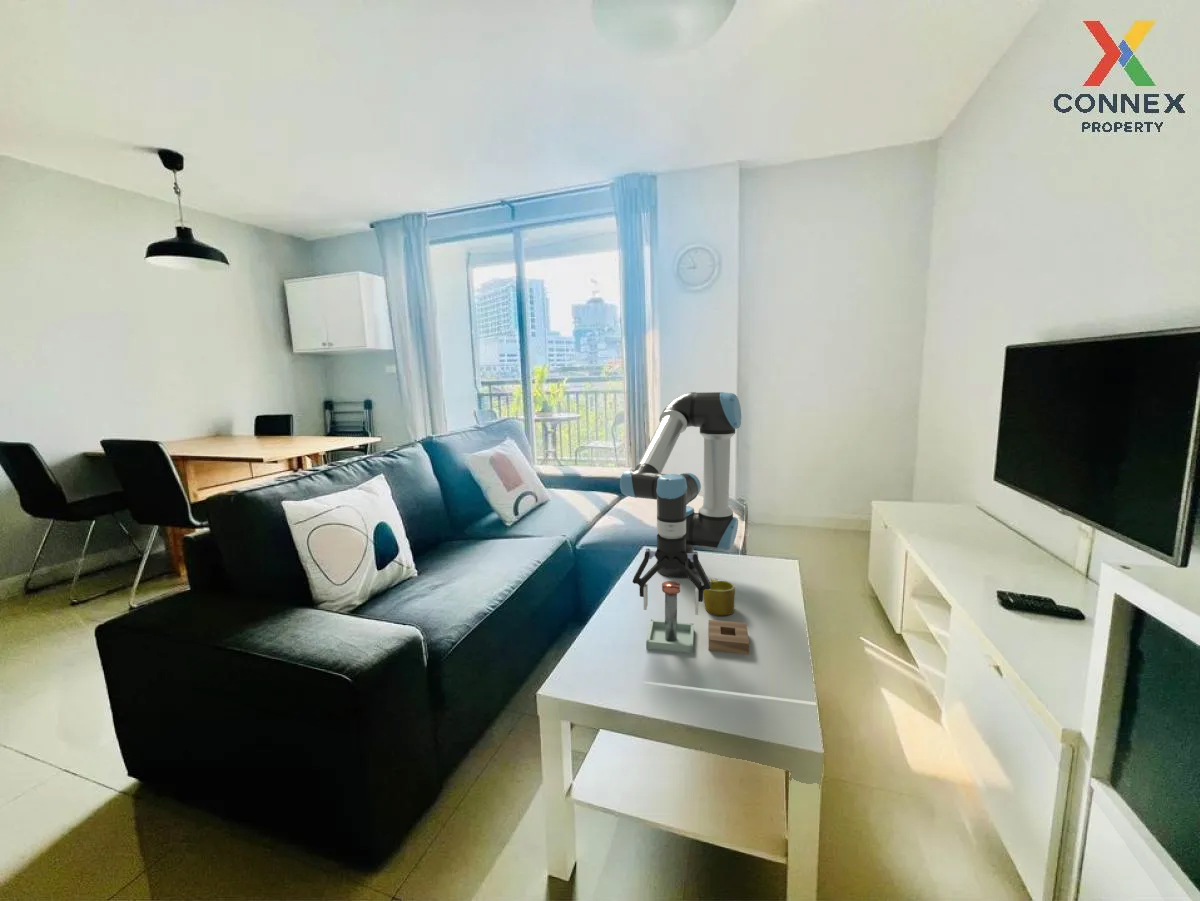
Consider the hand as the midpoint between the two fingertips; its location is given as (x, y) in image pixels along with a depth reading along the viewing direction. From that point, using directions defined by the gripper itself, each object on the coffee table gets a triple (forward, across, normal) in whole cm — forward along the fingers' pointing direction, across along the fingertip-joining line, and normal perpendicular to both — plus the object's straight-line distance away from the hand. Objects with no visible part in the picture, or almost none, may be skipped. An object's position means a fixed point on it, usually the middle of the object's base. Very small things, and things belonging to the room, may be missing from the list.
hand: (670, 609), depth 125 cm
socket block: (+9, +15, +2) cm, 18 cm away
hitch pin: (+8, 0, 0) cm, 8 cm away
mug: (+9, +13, +20) cm, 26 cm away
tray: (+9, 0, 0) cm, 9 cm away
